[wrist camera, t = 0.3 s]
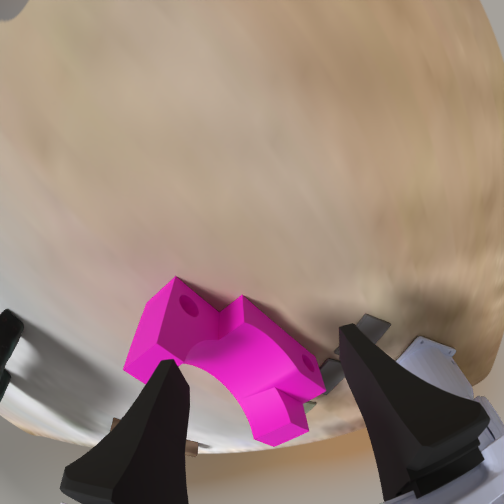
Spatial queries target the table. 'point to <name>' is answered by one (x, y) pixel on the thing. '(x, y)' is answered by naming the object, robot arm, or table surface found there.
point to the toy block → (231, 357)
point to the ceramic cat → (7, 344)
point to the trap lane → (329, 370)
